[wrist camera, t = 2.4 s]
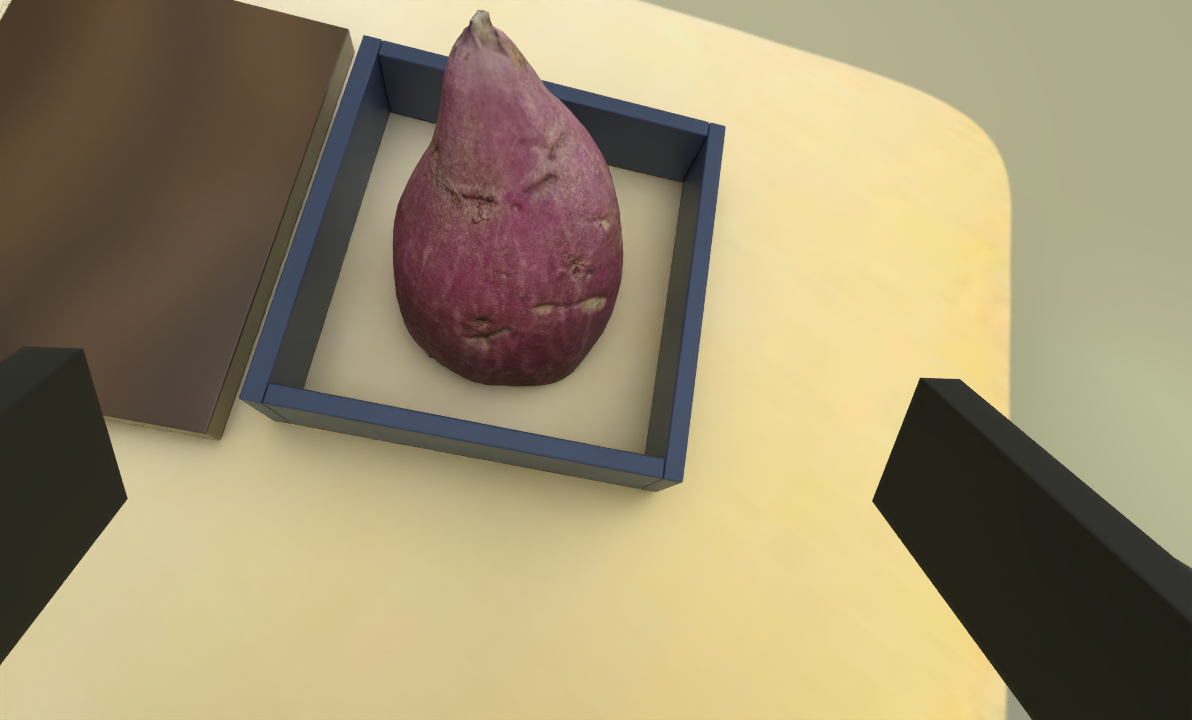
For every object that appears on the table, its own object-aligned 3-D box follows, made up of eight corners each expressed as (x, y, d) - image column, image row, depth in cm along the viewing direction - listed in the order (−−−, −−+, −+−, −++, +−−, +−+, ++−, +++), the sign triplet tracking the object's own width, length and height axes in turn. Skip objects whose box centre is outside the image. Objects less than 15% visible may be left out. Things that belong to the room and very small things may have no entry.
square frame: (272, 420, 27) (238, 398, 23) (377, 95, 32) (363, 34, 28) (657, 492, 29) (683, 482, 25) (699, 173, 34) (726, 125, 30)
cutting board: (-156, 372, 25) (-195, 361, 24) (58, -23, 31) (38, -50, 30) (220, 440, 27) (205, 434, 25) (355, 51, 33) (349, 28, 31)
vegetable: (388, 260, 33) (216, -27, 20) (574, 188, 35) (531, -127, 21) (452, 437, 29) (286, 219, 15) (664, 346, 30) (681, 72, 17)
